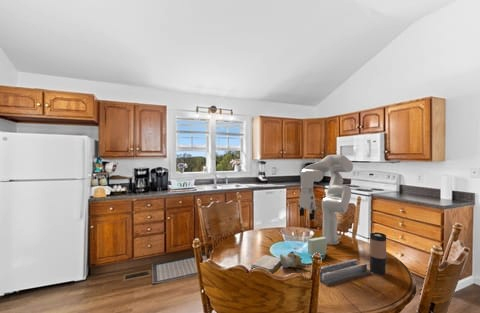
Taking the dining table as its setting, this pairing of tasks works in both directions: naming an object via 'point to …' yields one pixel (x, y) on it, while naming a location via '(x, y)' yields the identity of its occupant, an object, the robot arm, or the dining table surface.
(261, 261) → the washcloth
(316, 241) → the door panel
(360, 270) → the rail
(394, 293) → the dining table surface
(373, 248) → the travel mug
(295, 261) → the ceramic sculpture
